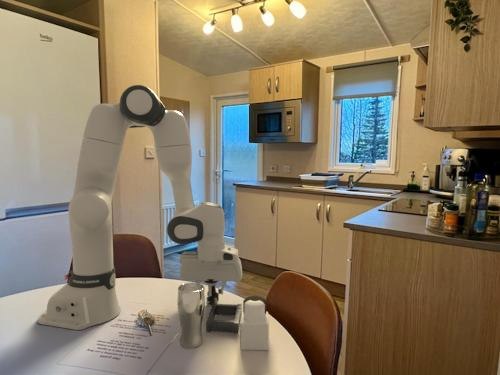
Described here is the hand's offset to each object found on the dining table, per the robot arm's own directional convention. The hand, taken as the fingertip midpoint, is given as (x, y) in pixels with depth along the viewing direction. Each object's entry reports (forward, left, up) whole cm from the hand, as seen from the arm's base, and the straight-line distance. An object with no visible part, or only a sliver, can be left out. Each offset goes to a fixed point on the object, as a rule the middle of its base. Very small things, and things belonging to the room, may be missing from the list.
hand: (211, 293), depth 111 cm
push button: (0, 0, -4) cm, 4 cm away
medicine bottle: (+15, -22, -4) cm, 27 cm away
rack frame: (+6, -12, -4) cm, 14 cm away
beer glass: (-1, -23, -4) cm, 23 cm away
